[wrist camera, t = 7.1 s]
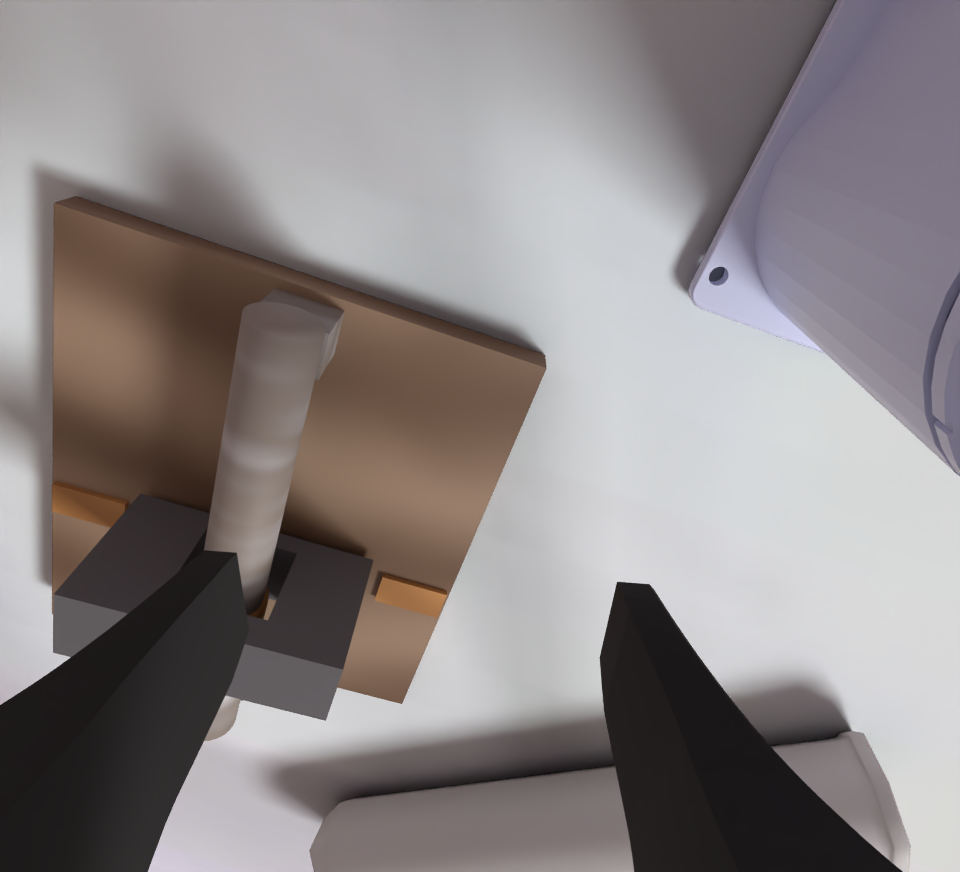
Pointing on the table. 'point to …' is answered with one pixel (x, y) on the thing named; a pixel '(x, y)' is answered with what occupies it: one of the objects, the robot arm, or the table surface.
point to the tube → (571, 818)
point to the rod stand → (275, 421)
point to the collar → (270, 643)
